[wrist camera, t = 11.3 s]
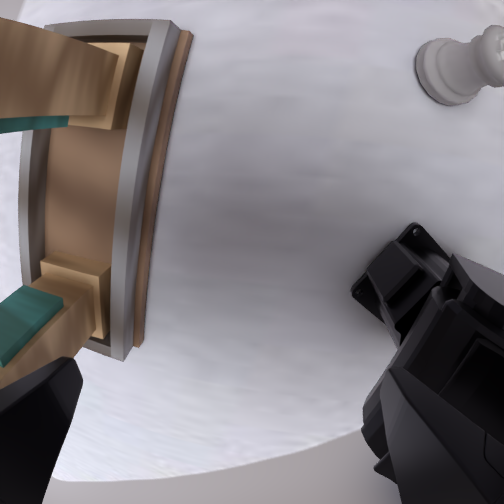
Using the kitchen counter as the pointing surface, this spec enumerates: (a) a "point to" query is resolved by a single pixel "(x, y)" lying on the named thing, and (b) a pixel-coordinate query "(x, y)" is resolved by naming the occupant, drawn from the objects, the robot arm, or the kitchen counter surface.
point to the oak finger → (53, 314)
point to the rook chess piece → (462, 66)
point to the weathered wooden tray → (92, 148)
